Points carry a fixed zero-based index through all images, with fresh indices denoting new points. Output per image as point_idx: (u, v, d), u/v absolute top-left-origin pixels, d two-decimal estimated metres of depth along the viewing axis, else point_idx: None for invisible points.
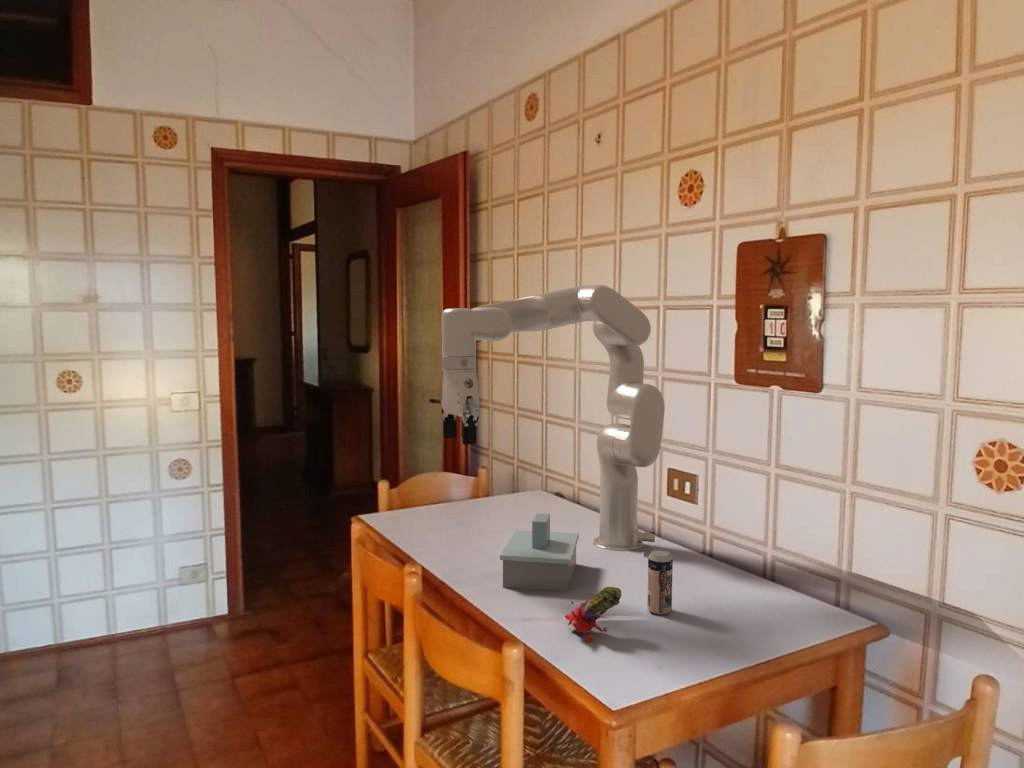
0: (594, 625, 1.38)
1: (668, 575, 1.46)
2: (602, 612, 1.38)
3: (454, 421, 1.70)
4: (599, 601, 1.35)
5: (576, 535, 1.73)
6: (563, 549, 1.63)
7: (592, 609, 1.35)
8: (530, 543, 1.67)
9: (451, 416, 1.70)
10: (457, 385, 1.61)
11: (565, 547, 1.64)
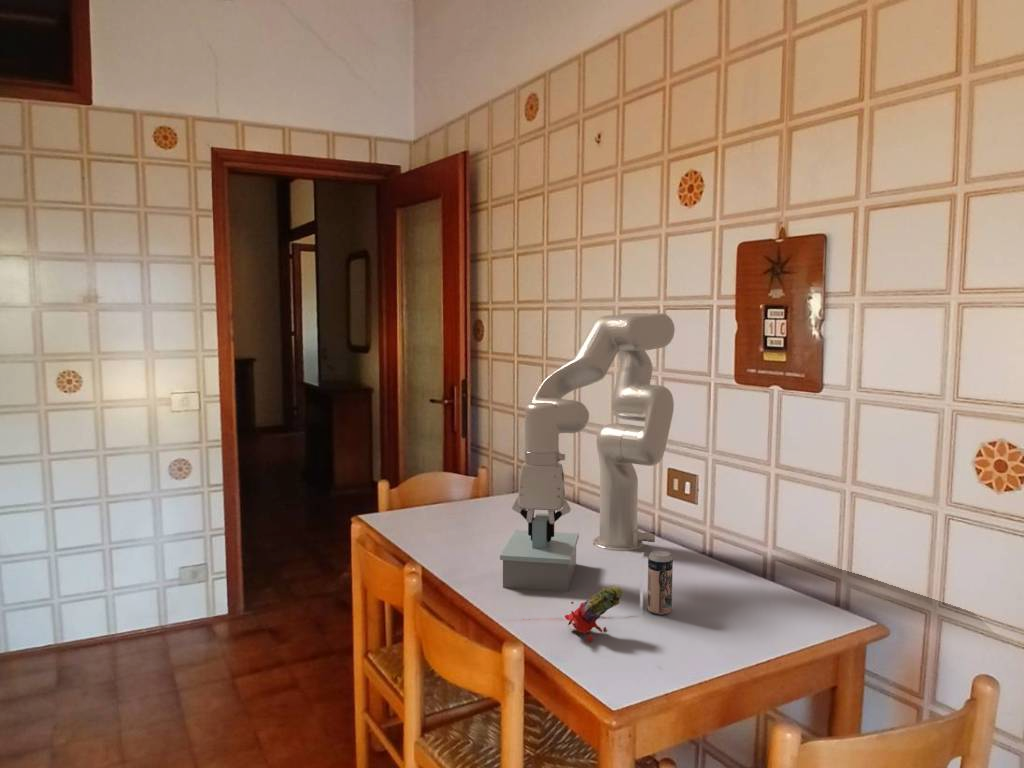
0: (594, 625, 1.38)
1: (668, 575, 1.46)
2: (602, 612, 1.38)
3: None
4: (599, 601, 1.35)
5: (576, 535, 1.73)
6: (563, 549, 1.63)
7: (592, 609, 1.35)
8: (530, 543, 1.67)
9: None
10: (557, 480, 1.63)
11: (565, 547, 1.64)
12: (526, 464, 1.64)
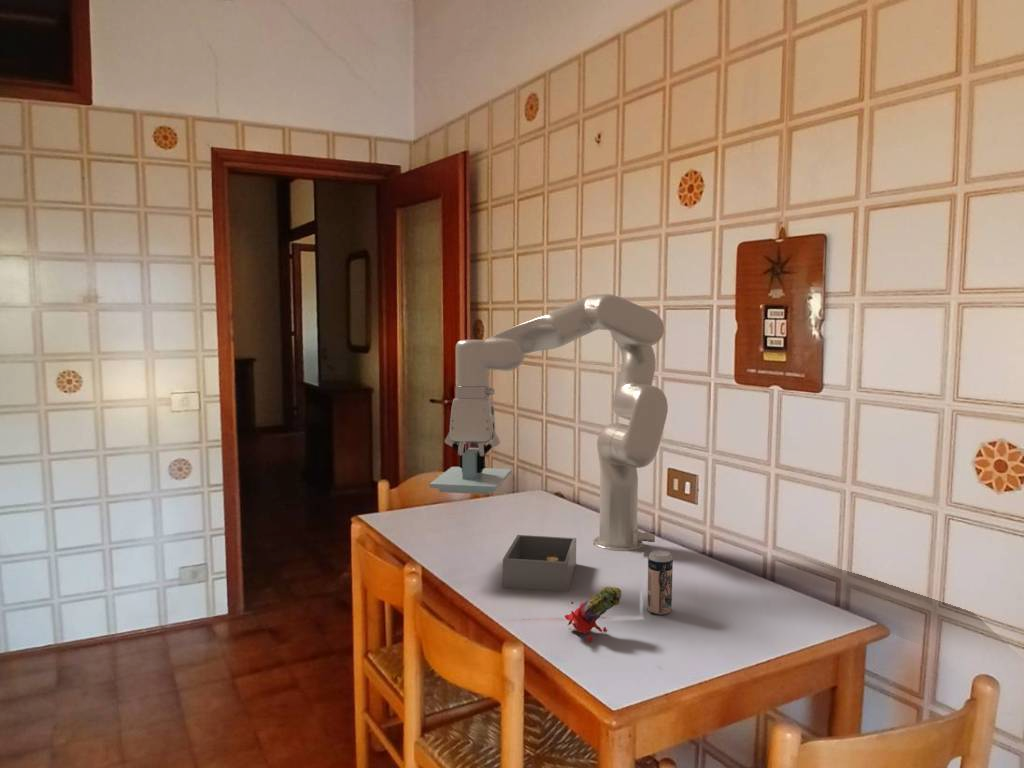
0: (594, 625, 1.38)
1: (668, 575, 1.46)
2: (602, 612, 1.38)
3: None
4: (599, 601, 1.35)
5: (508, 470, 1.80)
6: (492, 479, 1.70)
7: (592, 609, 1.35)
8: (462, 475, 1.74)
9: (463, 449, 1.74)
10: (486, 413, 1.69)
11: (494, 478, 1.71)
12: (457, 398, 1.70)
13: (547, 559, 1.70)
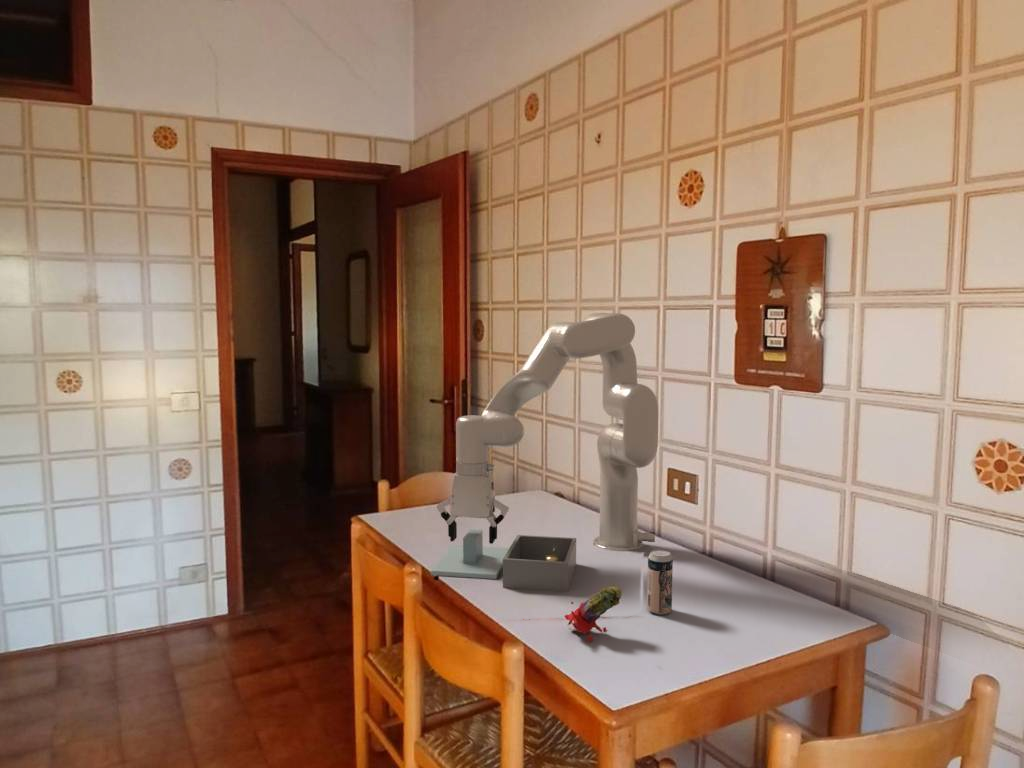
0: (594, 625, 1.38)
1: (668, 575, 1.46)
2: (602, 612, 1.38)
3: (455, 523, 1.76)
4: (599, 601, 1.35)
5: None
6: (492, 564, 1.72)
7: (592, 609, 1.35)
8: (463, 558, 1.76)
9: None
10: (486, 489, 1.71)
11: (494, 562, 1.73)
12: (457, 474, 1.72)
13: (547, 559, 1.70)
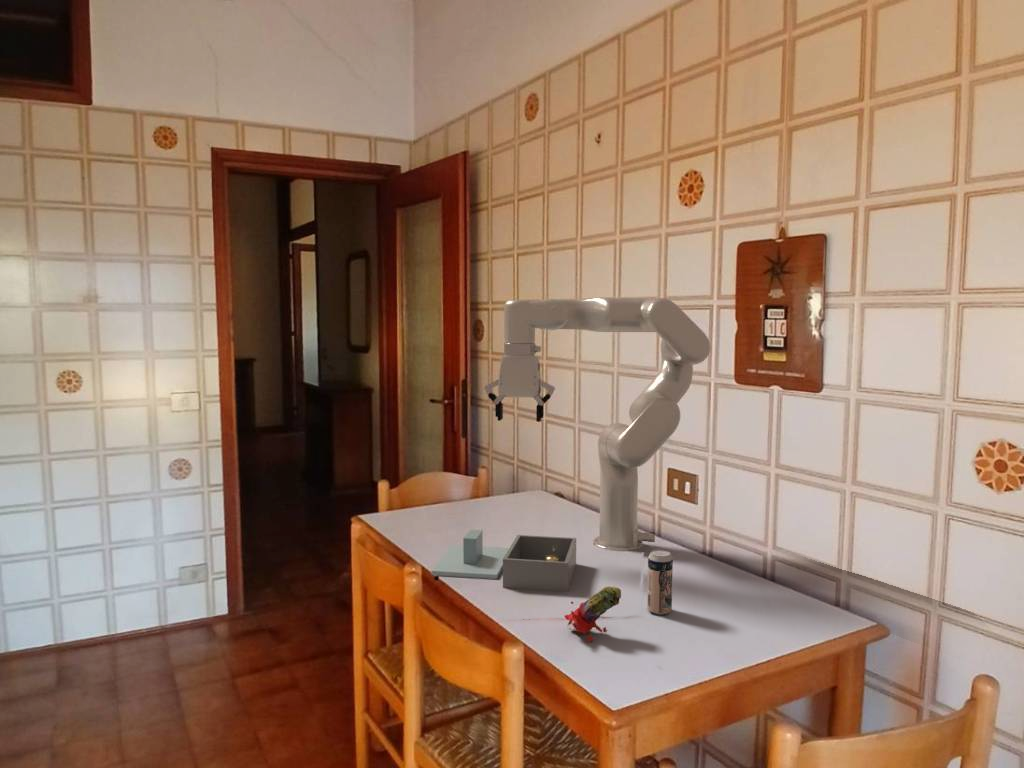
0: (594, 625, 1.38)
1: (668, 575, 1.46)
2: (602, 612, 1.38)
3: (502, 404, 1.84)
4: (599, 601, 1.35)
5: None
6: (492, 564, 1.72)
7: (592, 609, 1.35)
8: (463, 558, 1.76)
9: None
10: (533, 369, 1.79)
11: (494, 562, 1.73)
12: (505, 355, 1.79)
13: (547, 559, 1.70)
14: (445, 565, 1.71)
